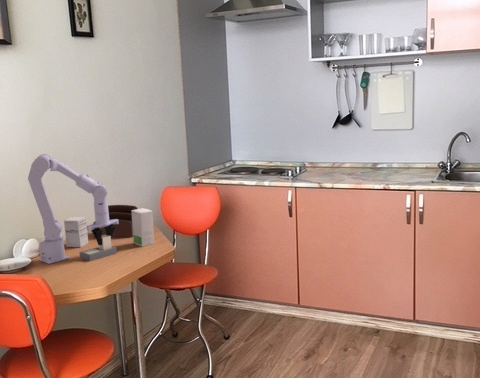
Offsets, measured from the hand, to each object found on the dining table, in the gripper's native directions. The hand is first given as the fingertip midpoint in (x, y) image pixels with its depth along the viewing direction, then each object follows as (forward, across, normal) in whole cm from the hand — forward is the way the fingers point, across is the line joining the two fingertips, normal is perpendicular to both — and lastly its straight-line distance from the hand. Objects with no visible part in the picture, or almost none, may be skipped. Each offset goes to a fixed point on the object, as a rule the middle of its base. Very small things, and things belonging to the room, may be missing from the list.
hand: (104, 243), depth 231 cm
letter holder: (+5, +22, +23) cm, 32 cm away
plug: (+4, 0, 0) cm, 4 cm away
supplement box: (+5, 0, +23) cm, 23 cm away
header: (+4, -4, 0) cm, 6 cm away
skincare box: (+5, +19, -2) cm, 20 cm away
